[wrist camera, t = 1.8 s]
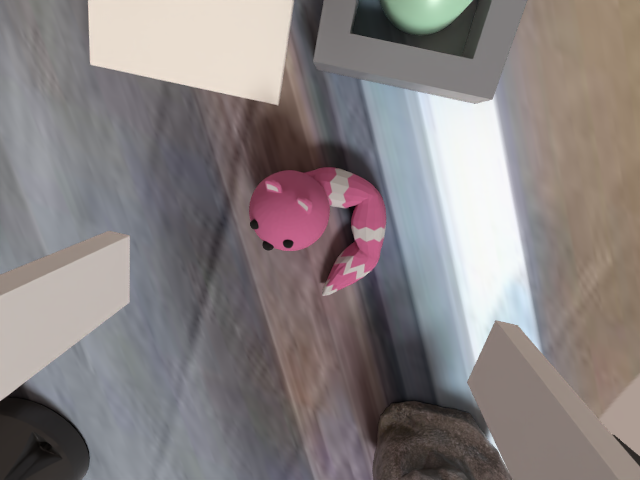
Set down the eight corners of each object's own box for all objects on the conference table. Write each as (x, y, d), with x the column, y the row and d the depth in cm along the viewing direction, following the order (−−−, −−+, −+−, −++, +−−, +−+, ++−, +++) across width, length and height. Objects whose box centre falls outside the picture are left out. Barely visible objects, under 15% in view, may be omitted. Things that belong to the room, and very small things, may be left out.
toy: (241, 248, 29) (216, 212, 20) (291, 173, 32) (290, 108, 22) (346, 310, 29) (374, 303, 19) (389, 229, 31) (433, 186, 21)
